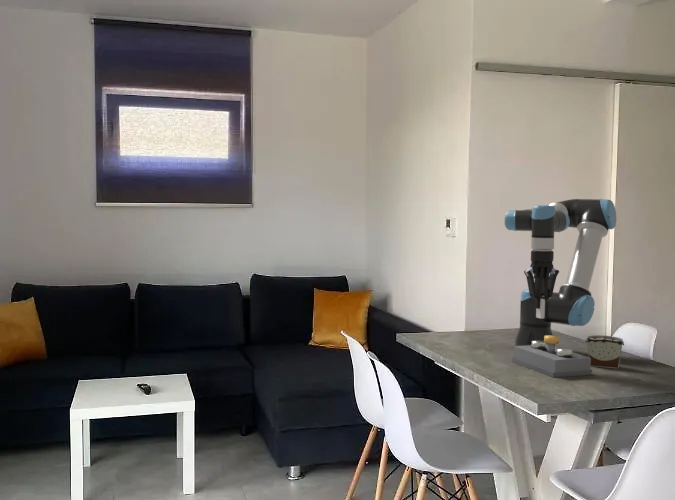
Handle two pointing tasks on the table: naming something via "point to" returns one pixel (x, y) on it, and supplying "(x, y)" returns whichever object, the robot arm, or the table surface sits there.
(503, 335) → the table surface
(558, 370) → the mount
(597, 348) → the food container
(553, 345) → the yellow round knob
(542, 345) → the knob
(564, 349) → the knob
